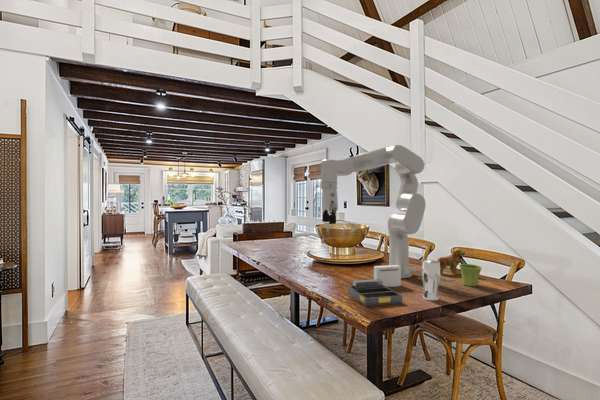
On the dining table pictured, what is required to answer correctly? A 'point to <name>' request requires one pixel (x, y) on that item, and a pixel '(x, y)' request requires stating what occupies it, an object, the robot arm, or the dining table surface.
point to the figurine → (451, 261)
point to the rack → (373, 293)
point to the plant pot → (470, 274)
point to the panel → (388, 275)
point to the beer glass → (430, 279)
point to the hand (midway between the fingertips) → (329, 222)
